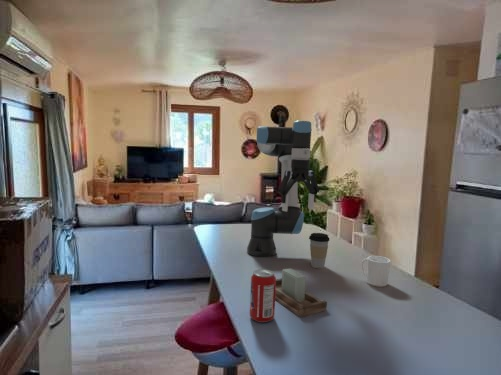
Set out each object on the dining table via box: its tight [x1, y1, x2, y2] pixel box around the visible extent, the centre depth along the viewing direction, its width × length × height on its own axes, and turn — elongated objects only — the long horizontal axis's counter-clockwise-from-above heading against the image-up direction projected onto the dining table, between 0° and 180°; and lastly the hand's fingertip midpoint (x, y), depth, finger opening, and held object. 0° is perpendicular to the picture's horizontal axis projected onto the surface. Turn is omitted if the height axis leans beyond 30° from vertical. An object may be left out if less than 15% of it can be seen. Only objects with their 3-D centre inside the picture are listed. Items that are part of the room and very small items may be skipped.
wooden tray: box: [275, 277, 328, 318], centre depth 124 cm, size 24×11×3 cm, turn 30°
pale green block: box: [281, 268, 306, 302], centre depth 123 cm, size 9×4×9 cm, turn 30°
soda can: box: [249, 268, 277, 323], centre depth 108 cm, size 8×8×15 cm
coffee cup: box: [308, 232, 330, 269], centre depth 160 cm, size 9×9×15 cm
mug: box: [361, 255, 391, 288], centre depth 142 cm, size 11×9×10 cm
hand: (297, 210), depth 144 cm, fingers open, 13 cm apart
